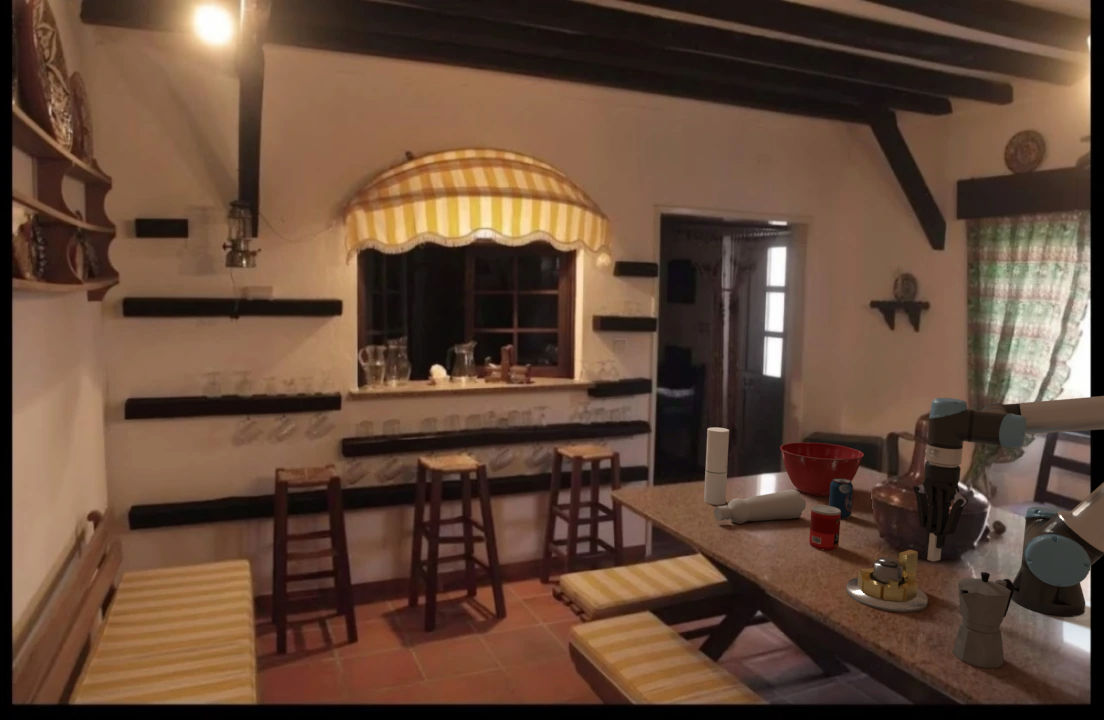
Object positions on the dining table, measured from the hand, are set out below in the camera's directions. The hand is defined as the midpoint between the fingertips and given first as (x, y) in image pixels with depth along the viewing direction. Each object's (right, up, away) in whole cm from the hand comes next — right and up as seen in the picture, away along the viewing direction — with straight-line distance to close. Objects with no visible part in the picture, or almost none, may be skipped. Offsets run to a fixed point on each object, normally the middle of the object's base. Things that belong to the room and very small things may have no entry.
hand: (933, 559), depth 183 cm
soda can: (+2, -3, +65) cm, 65 cm away
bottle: (-27, -3, +58) cm, 64 cm away
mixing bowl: (+5, 0, +94) cm, 94 cm away
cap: (-11, -9, +2) cm, 14 cm away
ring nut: (-8, -8, +3) cm, 12 cm away
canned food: (-14, -6, +36) cm, 39 cm away
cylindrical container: (-36, -1, +77) cm, 85 cm away
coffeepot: (-4, -13, -27) cm, 30 cm away
